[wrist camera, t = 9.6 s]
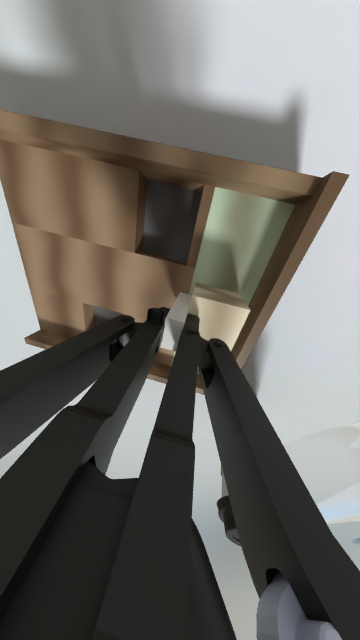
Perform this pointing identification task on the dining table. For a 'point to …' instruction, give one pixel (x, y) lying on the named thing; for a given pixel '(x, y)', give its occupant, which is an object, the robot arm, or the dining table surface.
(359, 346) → the dining table surface
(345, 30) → the dining table surface
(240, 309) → the birch block
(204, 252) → the box
